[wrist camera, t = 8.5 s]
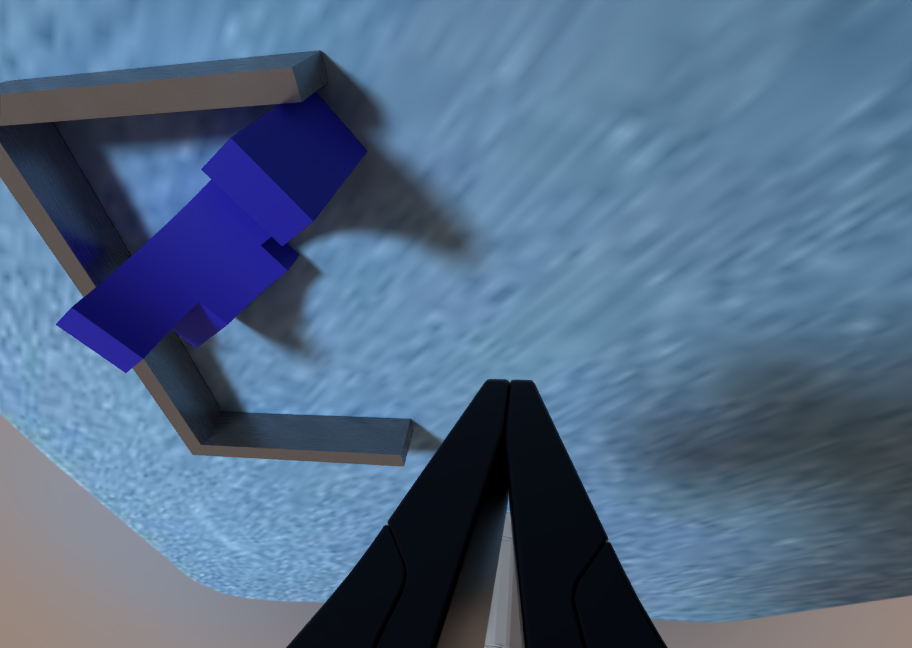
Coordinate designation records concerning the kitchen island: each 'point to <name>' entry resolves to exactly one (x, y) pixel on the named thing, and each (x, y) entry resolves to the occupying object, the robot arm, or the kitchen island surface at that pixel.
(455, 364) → the kitchen island surface
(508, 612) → the hinge
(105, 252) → the rail bay
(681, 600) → the kitchen island surface
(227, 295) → the blue stepped block
